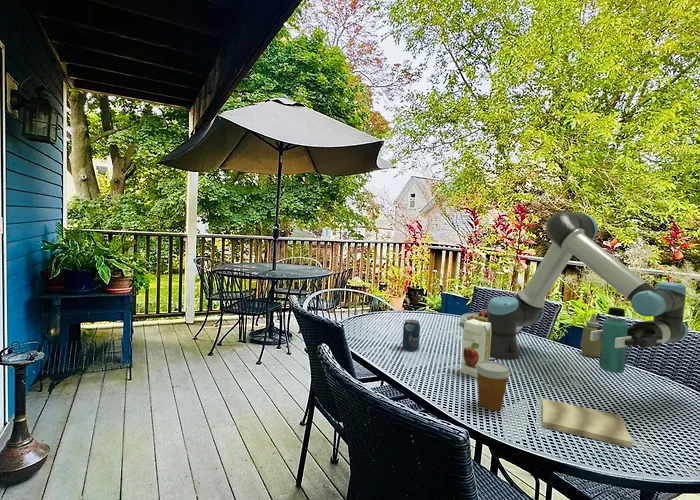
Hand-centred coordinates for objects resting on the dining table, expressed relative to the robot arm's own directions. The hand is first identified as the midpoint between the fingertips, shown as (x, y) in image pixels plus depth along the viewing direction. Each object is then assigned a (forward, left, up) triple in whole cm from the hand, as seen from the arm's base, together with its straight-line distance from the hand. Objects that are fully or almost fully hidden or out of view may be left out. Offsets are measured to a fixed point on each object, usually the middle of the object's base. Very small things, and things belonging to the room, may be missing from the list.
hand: (603, 339), depth 116 cm
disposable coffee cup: (-29, -12, -22) cm, 38 cm away
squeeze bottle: (+4, +62, -22) cm, 66 cm away
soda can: (-65, +26, -22) cm, 73 cm away
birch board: (-5, -10, -22) cm, 24 cm away
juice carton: (-37, +12, -22) cm, 44 cm away
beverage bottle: (+3, +4, -11) cm, 12 cm away
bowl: (-39, +84, -22) cm, 95 cm away
